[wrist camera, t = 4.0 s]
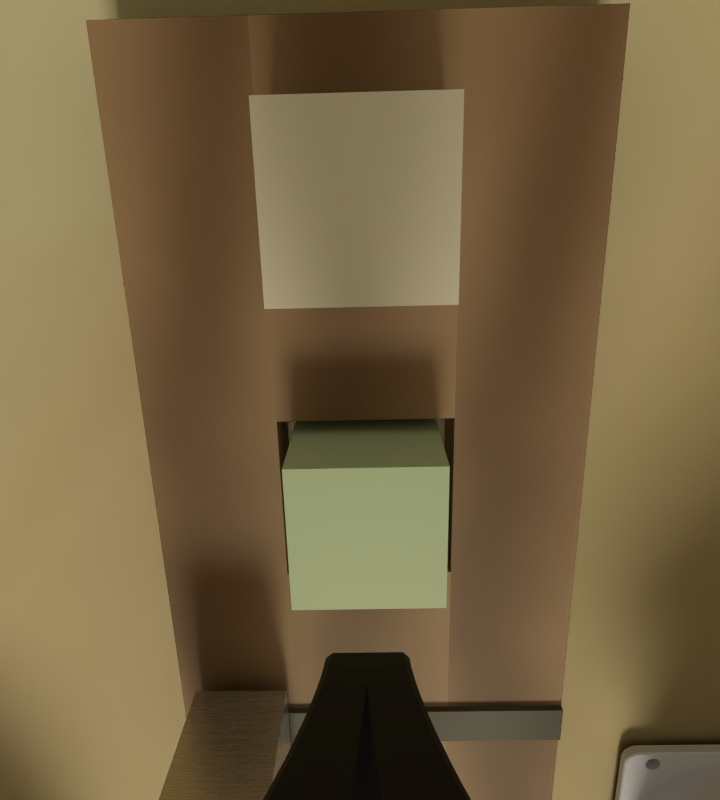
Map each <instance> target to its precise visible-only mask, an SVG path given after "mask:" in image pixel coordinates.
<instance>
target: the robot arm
mask: <svg viewBox="0 0 720 800" xmlns="http://www.w3.org/2000/svg"><path fill="white" fill-rule="evenodd" d="M650 759H651V760H650ZM263 800H471V798H470V797H469V795H468V793H467V791H466V790H465V788H464V786H463V784H462V782H461V781H460V779H459V777H458V775H457V773H456V771H455V769H454V767H453V765H452V763H451V761H450V759H449V757H448V755H447V753H446V751H445V749H444V747H443V745H442V743H441V741H440V739H439V737H438V735H437V733H436V731H435V728H434V726H433V724H432V722H431V719H430V717H429V715H428V712H427V710H426V707H425V705H424V702H423V700H422V697H421V695H420V692H419V689H418V687H417V684H416V681H415V678H414V674H413V671H412V667H411V663H410V658H409V657H408V656H407V655H406V654H405V653H404V652H365V653H332V654H330V655H329V656H328V657H327V658H326V660H325V664H324V668H323V671H322V674H321V678H320V681H319V683H318V686H317V689H316V692H315V694H314V697H313V699H312V702H311V704H310V706H309V709H308V711H307V714H306V716H305V718H304V720H303V723H302V725H301V727H300V729H299V731H298V733H297V735H296V737H295V739H294V742H293V744H292V746H291V748H290V750H289V752H288V754H287V756H286V758H285V760H284V762H283V764H282V766H281V768H280V769H279V771H278V773H277V775H276V777H275V778H274V780H273V782H272V784H271V786H270V788H269V789H268V791H267V793H266V795H265V797H264V798H263ZM615 800H720V745H635V746H630V747H628V748H626V749H625V750H624V751H623V752H622V755H621V760H620V767H619V774H618V781H617V788H616V795H615Z"/></svg>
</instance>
